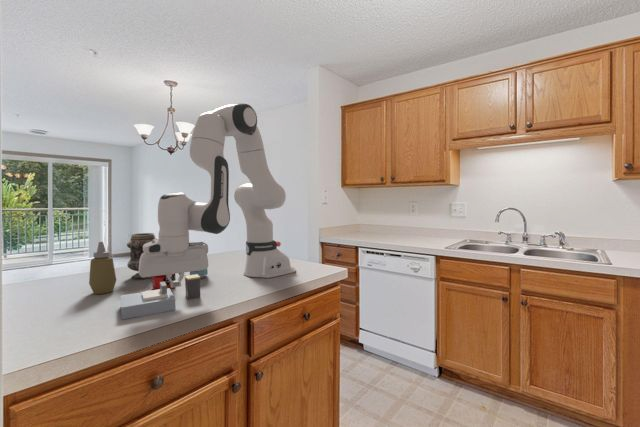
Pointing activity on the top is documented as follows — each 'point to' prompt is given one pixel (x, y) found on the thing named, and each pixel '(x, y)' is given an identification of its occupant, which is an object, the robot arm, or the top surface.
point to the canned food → (161, 278)
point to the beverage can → (200, 273)
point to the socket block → (145, 305)
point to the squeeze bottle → (102, 271)
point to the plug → (192, 286)
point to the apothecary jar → (138, 251)
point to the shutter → (156, 293)
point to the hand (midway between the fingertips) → (175, 286)
